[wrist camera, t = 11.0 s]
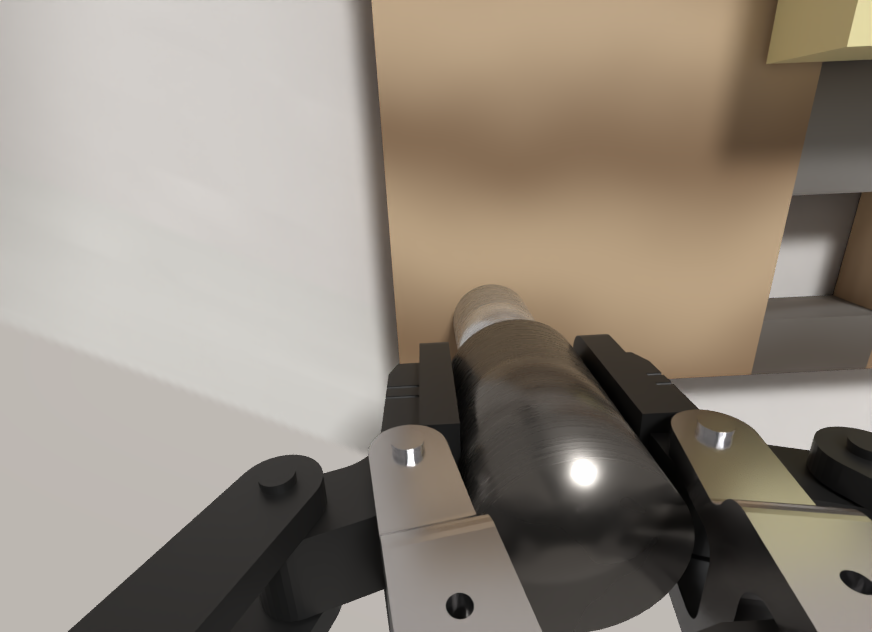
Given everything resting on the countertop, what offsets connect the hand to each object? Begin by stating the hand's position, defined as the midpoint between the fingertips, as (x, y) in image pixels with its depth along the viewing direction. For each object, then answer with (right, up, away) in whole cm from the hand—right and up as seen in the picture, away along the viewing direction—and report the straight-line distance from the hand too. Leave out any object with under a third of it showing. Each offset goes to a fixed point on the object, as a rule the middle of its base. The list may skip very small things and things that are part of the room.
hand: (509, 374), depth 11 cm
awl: (0, +1, +3) cm, 4 cm away
